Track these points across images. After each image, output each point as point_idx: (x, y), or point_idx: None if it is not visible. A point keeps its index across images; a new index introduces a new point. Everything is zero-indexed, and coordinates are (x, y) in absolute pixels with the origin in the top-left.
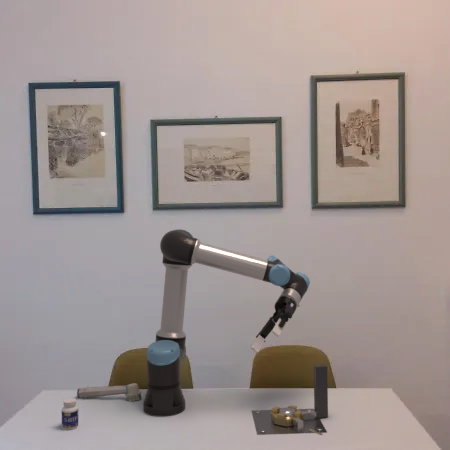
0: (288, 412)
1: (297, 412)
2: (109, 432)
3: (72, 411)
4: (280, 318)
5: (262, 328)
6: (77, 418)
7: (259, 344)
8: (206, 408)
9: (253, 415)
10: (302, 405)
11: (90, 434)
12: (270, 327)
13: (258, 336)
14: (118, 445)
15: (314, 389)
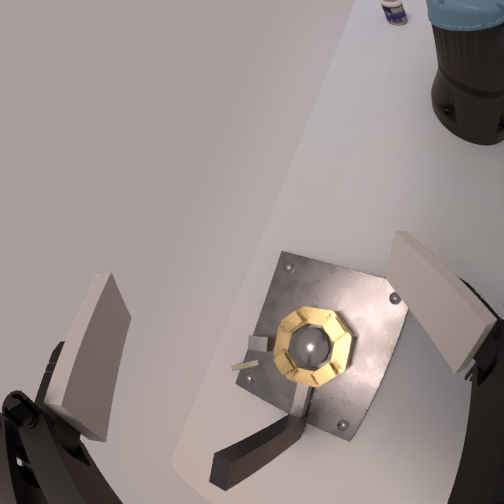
0: (293, 343)
1: (284, 363)
2: (375, 49)
3: (382, 4)
4: (47, 404)
5: None
6: (392, 16)
7: (422, 303)
8: (470, 186)
9: (381, 280)
10: (399, 436)
11: (372, 36)
12: (471, 474)
13: (470, 308)
14: (331, 62)
15: (272, 435)
